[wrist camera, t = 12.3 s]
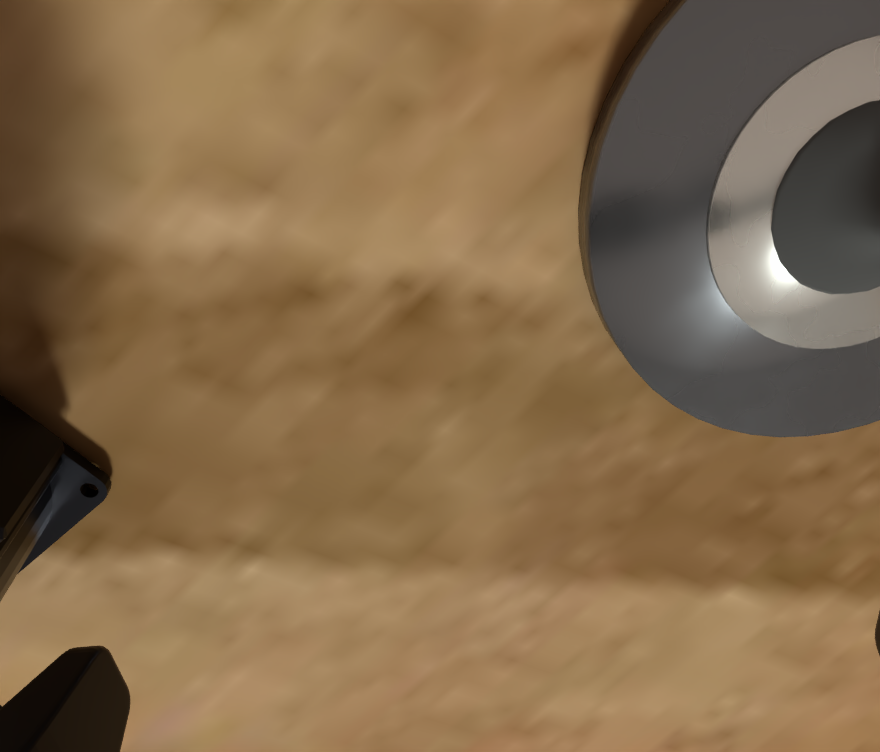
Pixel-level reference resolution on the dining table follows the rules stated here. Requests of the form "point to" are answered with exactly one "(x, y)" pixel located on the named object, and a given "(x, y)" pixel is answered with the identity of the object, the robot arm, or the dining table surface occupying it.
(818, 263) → the sundae
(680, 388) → the plate
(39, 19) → the dining table surface
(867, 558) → the dining table surface
